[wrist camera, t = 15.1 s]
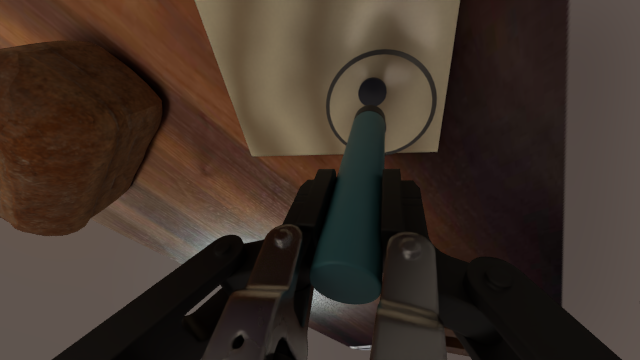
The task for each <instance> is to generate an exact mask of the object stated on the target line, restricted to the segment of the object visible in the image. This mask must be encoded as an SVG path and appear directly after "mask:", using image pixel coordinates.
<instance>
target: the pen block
mask: <svg viewBox="0 0 640 360" xmlns="http://www.w3.org/2000/svg"><path fill="white" fill-rule="evenodd" d="M444 330H445V340H446V352H448V353H453V354H458V355H464V356H469V354H468V353H467V351H466V350H465V348H464V347H463V346H462V344H461V343H460V341H459V340H458V338H457V337H456V335H455V334H454V332H453V330H451V329H449V328H447V327H445V326H444Z"/></svg>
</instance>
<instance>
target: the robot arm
mask: <svg viewBox="0 0 640 360" xmlns="http://www.w3.org/2000/svg"><path fill="white" fill-rule="evenodd" d="M336 179H337V177H336V171H335V169H319V170H318V172H317V174H316V176H315V179H314V180H307V181H306V182H305V183H304V184H303V185H302V186H301V187H300V189H299V191H298V193H297V196H296V197H295V199H294V202H293V203H292V206H291V208H290V210H289V212H288V214H287V216H286V218H285V220H284V222H283V224H282V225H280V226H277V227H275V228H274V229H272V230H271V231H270V232H269V233H268V234H267V235H266V237H265V239H264V240H260V241H255V242H250V243H245V244H244V243H243V241H242V239H241V238H240V237H239V236H236V235H226V236H223V237H221V238H219V239H217V240H215V241H214V242H212V243H211V244H210V245H208V246H207V247H206V248H204V249H203V250H202V251H200V252H199V253H197V254H196V255H195V256H193V257H192V258H191V259H189V260H188V261H186V262H185V263H184V264H182V265H181V266H180V267H179V268H177V269H175V270H174V271H173V272H171V273H170V274H169V275H167V276H166V277H165V278H163V279H162V280H160V281H159V282H158V283H156V284H155V285H154V286H152V287H151V288H149V289H148V290H147V291H145V292H144V293H143V294H141V295H140V296H138V297H137V298H136V299H134V300H133V301H132V302H130V303H129V304H127V305H126V306H125V307H123V308H122V309H121V310H119V311H118V312H117V313H115V314H114V315H112V316H111V317H110V318H108V319H107V320H106V321H104V322H103V323H101V324H100V325H99V326H97V327H96V328H95V329H93V330H92V331H91V332H89V333H88V334H86V335H85V336H84V337H82V338H81V339H80V340H78V341H77V342H75V343H74V344H73V345H72V346H70V347H69V348H67V349H66V350H64V351H63V352H62V353H60V354H59V355H58V356H56V357H55V358H54V359H52V360H307V356H308V341H307V330H308V323H309V317H310V310H311V304H312V297H313V291H314V287H313V286H312V284H311V282H310V279H309V271H310V268H311V265H312V261H313V258H314V254H315V251H316V248H317V244H318V241H319V237H320V234H321V230H322V227H323V224H324V220H325V217H326V213H327V210H328V207H329V203H330V200H331V196H332V193H333V189H334V186H335V183H336ZM381 248H382V251H383V266H382V273H383V281H382V288H381V296H380V302H379V304H378V307H377V312H376V318H375V325H374V333H373V340H372V347H371V354H370V360H447V354H446V340H445V330H444V326H445V327H447V328H449V329H451V330H453V332H454V334H455V335H456V337H457V338H458V340H459V341H460V343H461V344H462V346H463V347H464V348H465V350H466V351H467V353H468V354H469V356H470V357H471V359H472V360H622V359H620V358H619V357H618V356H617V355H616V354H615V353H614V352H613V351H611V350H610V349H609V348H608V347H607V346H606V345H605V344H603V343H602V342H601V341H600V340H599V339H598V338H596V337H595V336H594V335H593V334H592V333H591V332H590V331H589V330H587V329H586V328H585V327H584V326H583V325H582V324H580V323H579V322H578V321H577V320H576V319H575V318H574V317H573V316H571V315H570V314H569V313H568V312H567V311H566V310H565V309H563V308H562V307H561V306H560V305H559V304H558V303H557V302H555V301H554V300H553V299H552V298H551V297H550V296H549V295H548V294H546V293H545V292H544V291H543V290H542V289H541V288H540V287H538V286H537V285H536V284H535V283H534V282H533V281H532V280H530V279H529V278H528V277H527V276H526V275H525V274H524V273H522V272H521V271H520V270H519V269H518V268H516V267H515V266H513V265H512V264H510V263H508V262H506V261H503V260H501V259H497V258H493V257H479V258H476V259H474V260H472V261H471V262H470V263H468V262H465V261H462V260H459V259H456V258H453V257H450V256H448V255H446V254H444V253H442V252H441V251H439V250H438V249H437V248H436V247H435V246H434V245H433V244H432V243H431V241H430V239H429V237H428V232H427V226H426V221H425V215H424V209H423V204H422V199H421V192H420V188H419V187H418V186H417V185H416V183H415V182H414V181H401V175H400V169H383V175H382V210H381ZM219 285H221V286H222V288H221V289H220V290H219V291H218V292H217V293H216V294H215V295H213V296H212V297H211V298H210V299H209V300H208V301H206V302H205V303H204V304H203V305H202V306H201V307H200V308H198V310H196V311H195V312H194V313H192V314H190V315H187V316H185V315H186V313H187V312H188V311H190V310H191V309H192V308H193V307H194V306H195V305H197V304H198V303H199V302H200V301H201V300H202V299H204V298H205V297H206V296H207V295H208V294H209V293H211V292H212V291H213V290H214V289H215V288H216V287H217V286H219Z"/></svg>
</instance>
